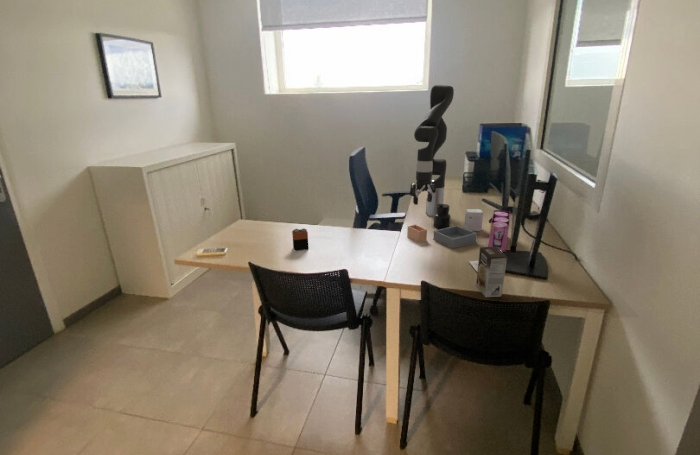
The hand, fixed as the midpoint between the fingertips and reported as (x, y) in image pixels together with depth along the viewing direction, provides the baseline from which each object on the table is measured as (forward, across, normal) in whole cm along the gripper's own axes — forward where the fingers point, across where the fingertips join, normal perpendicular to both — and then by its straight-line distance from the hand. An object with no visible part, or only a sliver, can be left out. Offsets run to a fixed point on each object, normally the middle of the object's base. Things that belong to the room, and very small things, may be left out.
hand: (422, 203), depth 184 cm
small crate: (+19, +1, -1) cm, 19 cm away
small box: (+19, -33, +4) cm, 38 cm away
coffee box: (+20, +13, +53) cm, 58 cm away
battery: (+19, +56, -22) cm, 63 cm away
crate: (+19, -12, +11) cm, 25 cm away
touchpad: (+20, +1, +41) cm, 45 cm away
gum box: (+19, -28, +24) cm, 42 cm away
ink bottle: (+19, -22, -8) cm, 30 cm away
